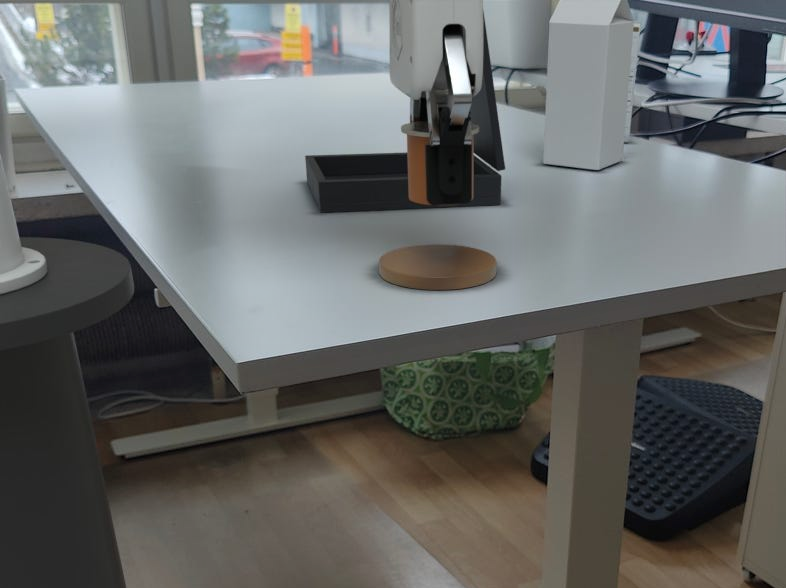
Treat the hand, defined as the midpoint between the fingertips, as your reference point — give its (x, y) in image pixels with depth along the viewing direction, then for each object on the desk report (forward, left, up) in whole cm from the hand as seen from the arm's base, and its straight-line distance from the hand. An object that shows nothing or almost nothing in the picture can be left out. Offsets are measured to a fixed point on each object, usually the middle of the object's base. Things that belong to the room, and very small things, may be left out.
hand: (440, 191), depth 70 cm
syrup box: (+34, +55, -6) cm, 65 cm away
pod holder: (+2, +28, -6) cm, 29 cm away
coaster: (0, 0, -6) cm, 6 cm away
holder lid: (+9, +28, +6) cm, 30 cm away
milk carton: (+26, +40, -6) cm, 48 cm away
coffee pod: (0, 0, 0) cm, 0 cm away
